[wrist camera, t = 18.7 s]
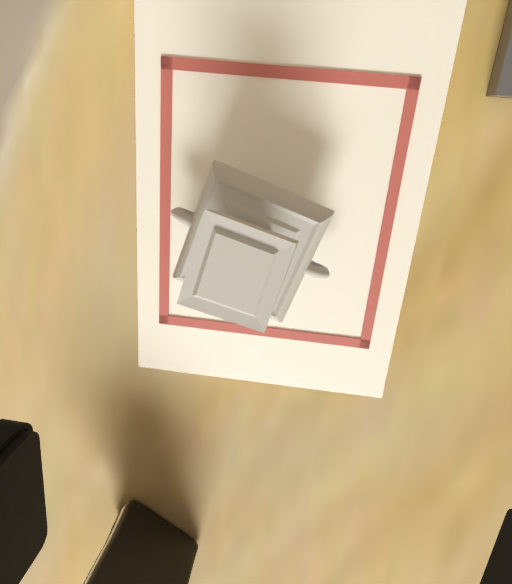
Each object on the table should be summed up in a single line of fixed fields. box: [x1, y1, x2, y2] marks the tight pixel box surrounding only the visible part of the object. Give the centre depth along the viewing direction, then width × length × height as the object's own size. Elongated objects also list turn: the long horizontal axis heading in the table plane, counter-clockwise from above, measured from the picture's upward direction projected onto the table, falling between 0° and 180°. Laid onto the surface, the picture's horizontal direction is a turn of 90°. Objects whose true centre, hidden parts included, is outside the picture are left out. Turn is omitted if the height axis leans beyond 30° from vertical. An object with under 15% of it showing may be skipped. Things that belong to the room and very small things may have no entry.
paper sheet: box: [134, 0, 467, 398], centre depth 26 cm, size 16×22×1 cm
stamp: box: [171, 160, 335, 333], centre depth 22 cm, size 9×7×8 cm
